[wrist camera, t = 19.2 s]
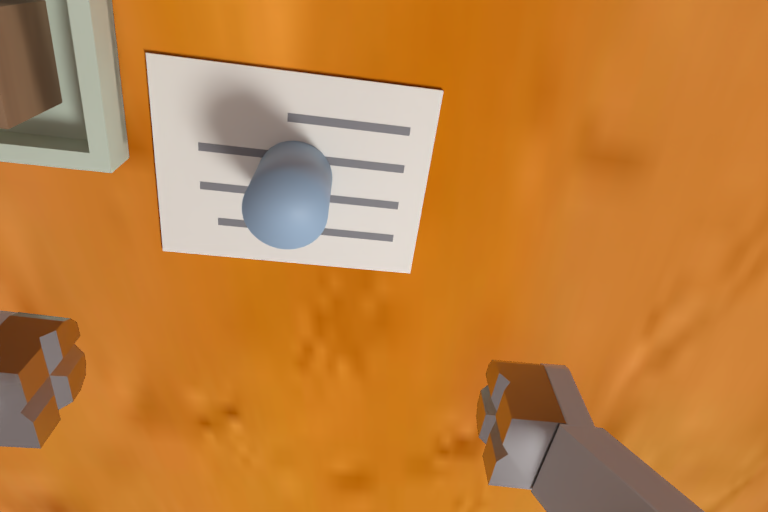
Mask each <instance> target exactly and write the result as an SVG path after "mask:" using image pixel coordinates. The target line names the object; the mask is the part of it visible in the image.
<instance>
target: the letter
mask: <svg viewBox="0 0 768 512" xmlns="http://www.w3.org/2000/svg"><path fill="white" fill-rule="evenodd" d="M146 63H147V74H148V86H149V97H150V109H151V120H152V132H153V143H154V155H155V166H156V178H157V189H158V201H159V212H160V224H161V235H162V247H163V251H169V252H180V253H191V254H202V255H213V256H224V257H235V258H246V259H257V260H268V261H279V262H290V263H301V264H312V265H323V266H334V267H345V268H356V269H367V270H378V271H389V272H400V273H410V271H411V266H412V260H413V255H414V249H415V244H416V238H417V233H418V228H419V222H420V217H421V211H422V206H423V200H424V195H425V189H426V184H427V178H428V173H429V168H430V162H431V157H432V151H433V146H434V140H435V135H436V129H437V124H438V118H439V113H440V107H441V102H442V97H443V90H437V89H429V88H422V87H414V86H406V85H398V84H390V83H382V82H375V81H367V80H359V79H351V78H343V77H335V76H328V75H320V74H312V73H304V72H296V71H289V70H281V69H273V68H265V67H257V66H249V65H242V64H234V63H226V62H218V61H210V60H202V59H195V58H187V57H179V56H171V55H163V54H155V53H148V52H146ZM285 141H301V142H305V143H308V144H310V145H312V146H314V147H315V148H317V149H318V150H319V151H320V152H321V153H322V154H323V155H324V156H325V157H326V159H327V160H328V162H329V164H330V167H331V170H332V187H331V195H330V204H329V212H328V219H327V223H326V226H325V229H324V231H323V232H322V233H321V235H320V236H319V237H318V238H317V239H316V240H315V241H314V242H312V243H310V244H309V245H307V246H304V247H301V248H297V249H279V248H275V247H272V246H269V245H267V244H265V243H263V242H261V241H260V240H258V239H257V238H256V237H255V236H254V235H253V234H252V233H251V232H250V230H249V229H248V228H247V226H246V224H245V222H244V219H243V215H242V200H243V197H244V194H245V192H246V190H247V188H248V186H249V184H250V181H251V179H252V177H253V175H254V173H255V171H256V169H257V167H258V165H259V163H260V161H261V159H262V157H263V155H264V154H265V153H266V152H267V151H268V150H269V149H270V148H271V147H273V146H274V145H276V144H278V143H281V142H285Z"/></svg>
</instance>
